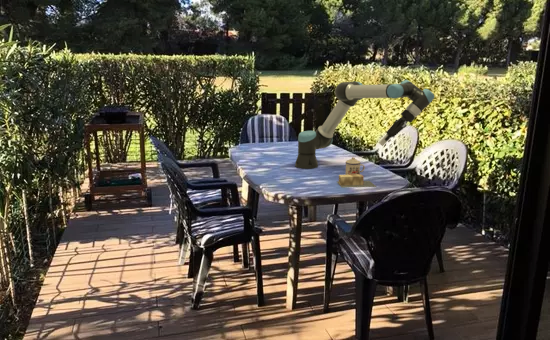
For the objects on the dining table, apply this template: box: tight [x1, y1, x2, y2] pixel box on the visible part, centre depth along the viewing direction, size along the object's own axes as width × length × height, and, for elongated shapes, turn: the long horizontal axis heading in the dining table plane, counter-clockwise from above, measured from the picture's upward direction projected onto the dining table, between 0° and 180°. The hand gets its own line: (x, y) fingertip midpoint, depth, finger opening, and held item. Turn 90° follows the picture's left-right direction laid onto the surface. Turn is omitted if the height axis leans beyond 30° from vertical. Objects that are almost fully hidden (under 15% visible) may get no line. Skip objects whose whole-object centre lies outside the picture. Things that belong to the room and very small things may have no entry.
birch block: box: [338, 173, 365, 187], centre depth 250 cm, size 5×5×13 cm
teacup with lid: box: [344, 156, 366, 175], centre depth 270 cm, size 12×9×12 cm
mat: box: [336, 180, 377, 189], centre depth 251 cm, size 20×13×1 cm, turn 96°
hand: (380, 144), depth 248 cm, fingers closed
